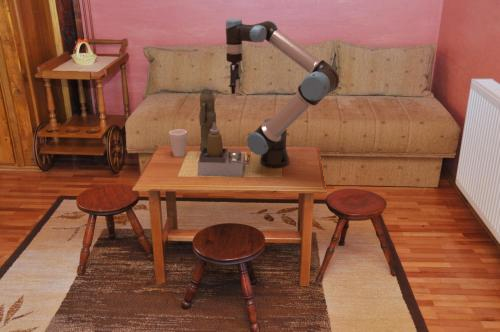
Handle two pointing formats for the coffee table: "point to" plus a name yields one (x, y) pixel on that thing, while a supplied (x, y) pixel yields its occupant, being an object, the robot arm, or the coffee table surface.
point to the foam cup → (178, 142)
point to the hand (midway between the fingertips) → (234, 96)
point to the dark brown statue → (206, 116)
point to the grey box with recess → (222, 164)
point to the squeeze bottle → (214, 142)
